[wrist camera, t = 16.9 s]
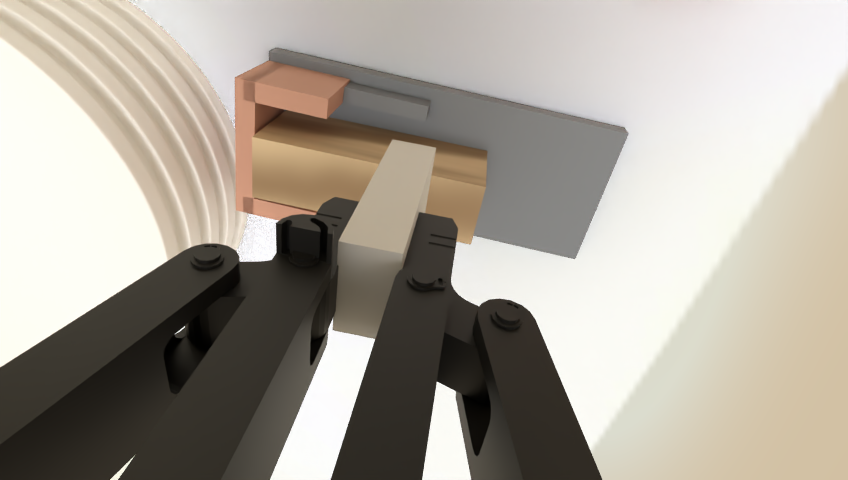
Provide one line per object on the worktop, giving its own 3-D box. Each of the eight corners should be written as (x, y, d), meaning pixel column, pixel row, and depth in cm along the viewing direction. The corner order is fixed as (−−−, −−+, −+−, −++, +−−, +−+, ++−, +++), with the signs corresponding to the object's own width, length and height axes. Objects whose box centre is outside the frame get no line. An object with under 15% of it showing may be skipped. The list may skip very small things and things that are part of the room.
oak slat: (288, 108, 34) (252, 136, 29) (487, 150, 34) (486, 187, 29) (286, 161, 36) (252, 197, 31) (474, 202, 36) (470, 244, 31)
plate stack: (231, -16, 32) (115, 1, 22) (261, 319, 47) (199, 418, 37) (-170, -66, 34) (-443, -70, 24) (-21, 273, 48) (-153, 357, 38)
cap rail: (276, 47, 34) (234, 66, 28) (624, 127, 33) (648, 162, 28) (271, 180, 39) (235, 218, 33) (572, 250, 39) (585, 299, 33)
